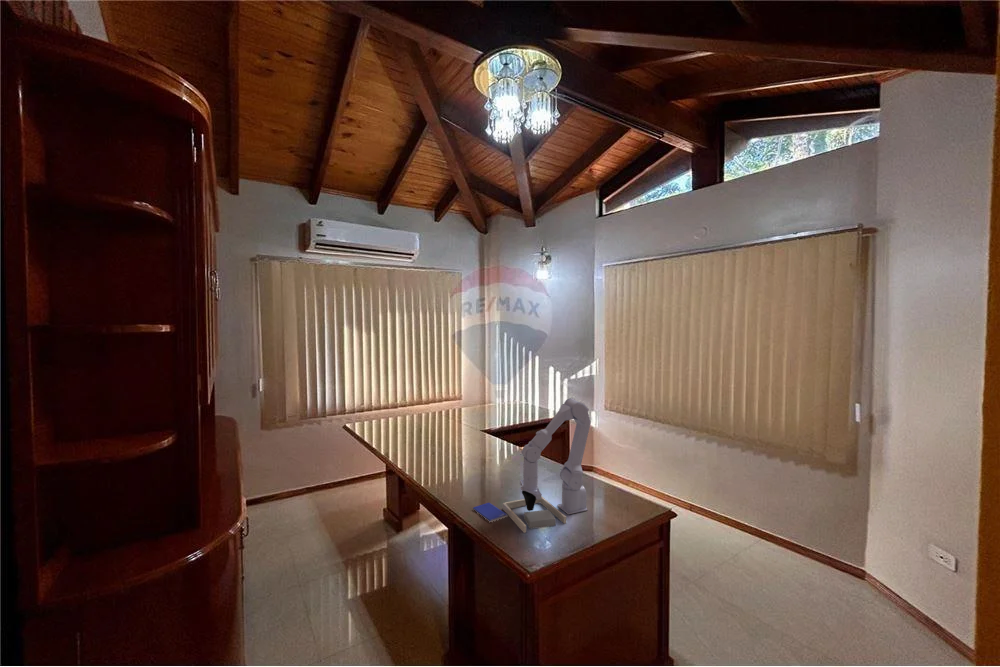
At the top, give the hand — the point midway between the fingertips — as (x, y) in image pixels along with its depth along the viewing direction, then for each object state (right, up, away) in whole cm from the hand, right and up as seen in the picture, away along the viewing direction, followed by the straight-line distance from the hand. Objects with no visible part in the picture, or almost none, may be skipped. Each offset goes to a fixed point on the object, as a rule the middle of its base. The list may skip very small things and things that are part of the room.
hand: (530, 509), depth 149 cm
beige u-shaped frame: (+1, -1, -3) cm, 3 cm away
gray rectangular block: (+3, -2, -7) cm, 8 cm away
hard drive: (-16, -2, -1) cm, 16 cm away
